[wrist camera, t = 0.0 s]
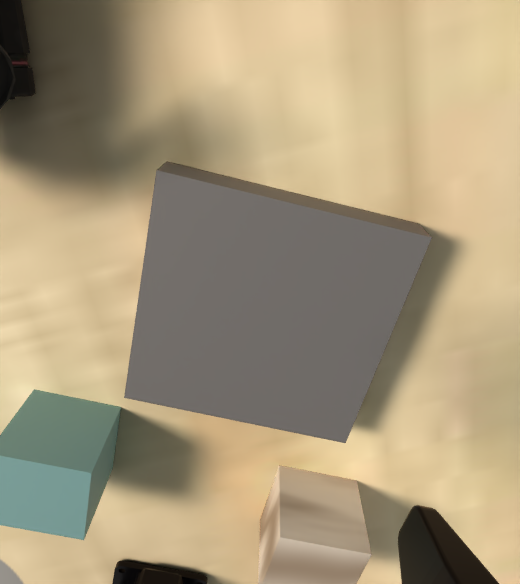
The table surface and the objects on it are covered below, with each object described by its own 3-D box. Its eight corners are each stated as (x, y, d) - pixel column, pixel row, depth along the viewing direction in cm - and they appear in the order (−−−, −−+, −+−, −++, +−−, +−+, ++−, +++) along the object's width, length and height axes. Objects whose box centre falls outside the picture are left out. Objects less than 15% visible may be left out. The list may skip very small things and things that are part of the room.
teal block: (112, 467, 29) (83, 539, 25) (32, 452, 29) (-12, 522, 24) (121, 406, 27) (91, 473, 23) (35, 388, 27) (-14, 453, 22)
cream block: (332, 532, 31) (342, 610, 27) (260, 518, 31) (257, 594, 27) (356, 479, 29) (371, 554, 25) (279, 464, 29) (280, 537, 24)
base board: (340, 418, 27) (345, 443, 25) (134, 375, 26) (124, 397, 24) (419, 223, 22) (432, 237, 20) (166, 161, 21) (156, 170, 19)
